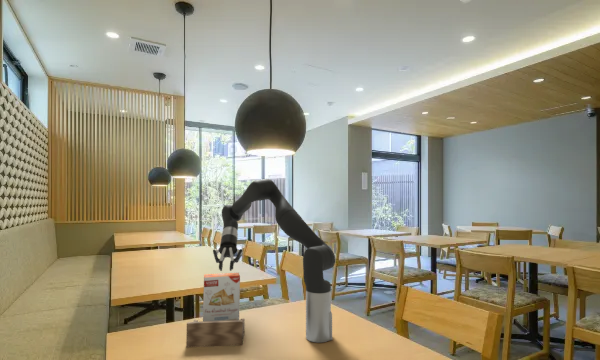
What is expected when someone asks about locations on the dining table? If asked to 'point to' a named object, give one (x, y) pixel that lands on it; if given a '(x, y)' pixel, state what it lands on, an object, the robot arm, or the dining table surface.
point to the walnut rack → (215, 333)
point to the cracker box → (221, 297)
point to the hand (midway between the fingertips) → (225, 269)
